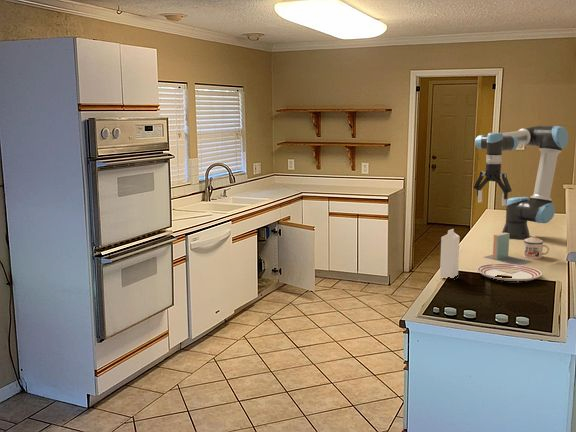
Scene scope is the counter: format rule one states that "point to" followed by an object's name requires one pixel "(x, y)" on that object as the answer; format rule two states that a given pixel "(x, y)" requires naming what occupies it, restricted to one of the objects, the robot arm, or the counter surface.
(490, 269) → the dinner plate
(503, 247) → the peach box
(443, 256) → the milk
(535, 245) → the teacup with lid
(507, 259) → the mat
